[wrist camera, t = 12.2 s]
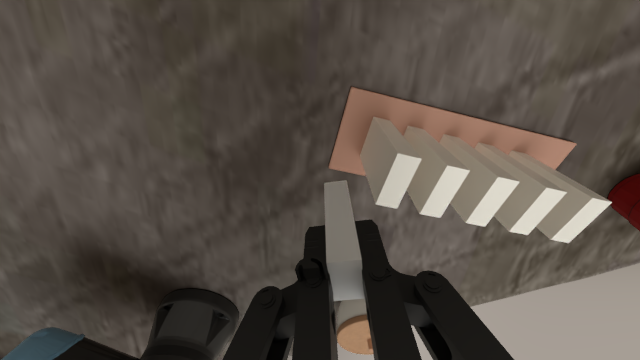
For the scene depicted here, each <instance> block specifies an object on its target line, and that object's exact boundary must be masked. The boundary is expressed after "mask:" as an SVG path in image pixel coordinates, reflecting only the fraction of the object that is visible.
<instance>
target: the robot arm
mask: <svg viewBox="0 0 640 360" xmlns="http://www.w3.org/2000/svg"><path fill="white" fill-rule="evenodd" d="M324 196H325V225H323V226H314V227H309V229H308V230H307V232H306V234H305V246H304V247H305V249H304V259H302V260H300V261H299V263H298V264H297V265H296V268H295V271H296V275H297V278H298V281H297V282H295V283H294V284H292V285H291V286H289V287H286V288H284V289H281V290H279V288H277V287H274V286H268V287H265V288H263V289H261V290H260V291H259V292H257V293H256V295H255V296H254V298H253V299H252V302H251V304H250V306H249V308H248V310H247V312H246V314H245V316H244V318H243V320H242V322H241V324H240V326H239V328H238V330H237V332H236V334H235V336H234V338H233V340H232V342H231V344H230V346H229V348H228V350H227V352H226V354H225V356H224V358H223V360H287V358H288V354H289V351H290V348H291V344H292V341H293V338H294V344H293V355H292V360H338V354H337V337H336V319H335V310H334V301H342V300H353V299H364V298H365V302H366V312H367V320H368V323H369V329H370V335H371V341H372V347H373V353H374V359H375V360H422V359H421V356H420V353H419V350H418V347H417V343H416V340H415V337H414V334H413V331H412V328H411V325H414V327H415V329H416V331H417V332H418V334H419V336H420V337H421V339H422V341H423V342H424V344H425V346H426V348H427V350H428V351H429V353H430V355H431V357H432V358H433V360H514V359H513V358H512V357H511V356H510V354H509V353H508V352H507V351H506V349H505V348H504V347H503V346H502V345H501V344H500V342H499V341H498V340H497V339H496V338H495V336H494V335H493V334H492V333H491V332H490V330H489V329H488V328H487V327H486V326H485V325H484V323H483V322H482V321H481V320H480V319H479V317H478V316H477V315H476V314H475V312H474V311H473V310H472V309H471V308H470V307H469V305H468V304H467V303H466V302H465V301H464V299H463V298H462V297H461V296H460V295H459V293H458V292H457V291H456V290H455V289H454V287H453V286H452V285H451V284H450V283H449V281H448V280H447V279H446V278H445V277H443V276H442V275H441V274H439V273H437V272H433V271H422V272H420V273H419V274H417V276H410V275H405V274H402V273H399V272H397V271H396V270H394V269H393V268H392V267H391V266H390V264H389V262H388V259H387V256H386V253H385V250H384V246H383V243H382V240H381V237H380V234H379V230H378V227H377V225H376V224H375V223H374V222H373V221H372V220H363V221H354V216H353V211H352V206H351V200H350V195H349V190H348V185H347V180H343V181H336V182H328V183H324ZM238 319H239V313H238V310H237V308H236V307H235V306H234V305H233V304H232V303H231V302H230V301H229V300H227V299H226V298H224V297H222V296H220V295H218V294H215V293H212V292H209V291H205V290H199V289H182V290H177V291H174V292H171V293H169V294H168V295H166V296H165V297H164V299H163V300H162V302H161V304H160V305H159V307H158V309H157V311H156V314H155V318H154V322H153V326H152V330H151V334H150V338H149V342H148V345H147V348H146V350H145V351H144V353H143V355H142V357H141V358H140V359H138V358H136V357H133V356H130V355H128V354H125V353H123V352H120V351H118V350H115V349H113V348H110V347H108V346H105V345H103V344H100V343H98V342H95V341H93V340H90V339H88V338H85V335H84V334H81V335H77V334H74V333H71V332H68V331H65V330H62V329H59V328H54V327H50V328H45V329H41V330H39V331H37V332H35V333H33V334H32V335H30V336H29V337H28V338H26V339H25V340H24V341H23V342H22V343H20V344H19V345H18V346H17V347H16V348H15V349H13V350H12V351H11V352H10V353H9V354H7V355H6V356H5V357H4V358H3V359H1V360H217V358H218V357H219V355H220V354H221V352H222V351H223V349H224V347H225V346H226V344H227V343H228V341H229V340H230V338H231V336H232V335H233V333H234V331H235V329H236V326H237V323H238Z"/></svg>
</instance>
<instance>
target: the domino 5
mask: <svg viewBox="0 0 640 360" xmlns="http://www.w3.org/2000/svg"><path fill="white" fill-rule="evenodd" d="M509 156H510V157H512V158H513V159H515V160H517V161H518V162H520V163H521V164H523V165H525V166H526V167H528V168H529V169H531V170H533V171H534V172H536V173H537V174H539V175H541V176H542V177H544V178H545V179H547V180H549V181H550V182H552V183H553V184H555V185H557V186H558V187H560V188H561V189H563V190H565V191H566V192H567V193H566V194H565V195H564V196H563V198H562V199H561V200H560V201H559V202H558V203H557V204H556V205H555V206H554V207H553V208H552V209H551V210H550V212H549V213H548V214H547V215H546V216H545V217H544V218H543V219H542V220H541V221H540V222H539V223H538V224H537V226H536V227H537V228H538V229H539V230H540V231H541V232H543V233H544V234H545V235H546V236H547V237H548V238H549V239H551V240H555V241H560V242H566V243H569V242H570V241H571V240H572V239H574V238H575V237H576V236H577V235H578V234H579V233H580V232H581V231H582V230H583V229H584V228H585V227H586V226H587V225H589V224H590V223H591V222H592V221H593V220H594V219H595V218H596V217H597V216H598V215H599V214H600V213H601V212H603V211H604V210H605V209H606V208H607V207H608V206H609V205H610V204H611V203H612V202H611V201H609V200H607V199H606V198H604V197H602V196H600V195H599V194H597V193H595V192H593V191H591V190H590V189H588V188H586V187H584V186H583V185H581V184H579V183H577V182H575V181H574V180H572V179H570V178H568V177H567V176H565V175H563V174H561V173H559V172H558V171H556V170H554V169H552V168H551V167H549V166H547V165H545V164H544V163H542V162H540V161H538V160H536V159H535V158H533V157H531V156H529V155H528V154H525V153H521V152H517V151H513V150H512V151H511V152H510V153H509Z"/></svg>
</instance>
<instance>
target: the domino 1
mask: <svg viewBox="0 0 640 360" xmlns="http://www.w3.org/2000/svg"><path fill="white" fill-rule="evenodd" d="M360 158H361V161H362V164H363V167H364V170H365V174H366V177H367V180H368V183H369V186H370V189H371V192H372V195H373V198H374V202H375V204H376V205H381V206H386V207H391V208H396V209H397V208H398V206H399V204H400V202H401V200H402V198H403V196H404V194H405V192H406V190H407V188H408V186H409V184H410V182H411V180H412V178H413V176H414V174H415V172H416V170H417V168H418V166H419V164H420V162H421V160H422V158H421V157H420V156H419V155H418V153H417V152H416V151H415V150H414V149H413V147H412V146H411V145H410V144H409V143H408V141H407V140H406V139H405V138H404V137H403V135H402V134H401V133H400V132H399V131H398V129H397V128H396V127H395V126H394V125H393V123H392V122H391V121H390V120H386V119H382V118H377V117H373V119H372V122H371V125H370V128H369V131H368V134H367V137H366V139H365V142H364V145H363V148H362V151H361V154H360Z"/></svg>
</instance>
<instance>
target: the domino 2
mask: <svg viewBox="0 0 640 360" xmlns="http://www.w3.org/2000/svg"><path fill="white" fill-rule="evenodd" d="M403 137H404V138H405V139H406V140H407V141H408V143H409V144H410V145H411V146H412V147H413V149H414V150H415V151H416V152H417V153H418V155H419V156H420V157H421V158H422V160H421V162H420V164H419V166H418V168H417V170H416V172H415V174H414V176H413V178H412V180H411V182H410V184H409V186H408V188H407V192H408V194H409V196H410V198H411V199H412V201H413V203H414V205H415V207H416V208H417V210H418V212H419V214H423V215H428V216H433V217H438V218H440V217H441V216H442V214H443V213H444V211H445V210H446V208H447V206H448V205H449V203H450V202H451V200H452V199H453V197H454V195H455V194H456V192H457V191H458V189H459V188H460V186H461V184H462V183H463V181H464V180H465V178H466V177H467V175H468V173H469V172H470V170H469V169H468V168H467V167H466V166H465V165H463V164H462V163H461V162H460V161H459V160H458V159H457V158H456V157H454V156H453V155H452V154H451V153H450V152H449V151H448V150H447V149H445V148H444V147H443V146H442V145H441V144H440V143H439V142H438V141H436V140H435V139H434V138H433V137H432V136H431V135H430V134H429V133H427V132H426V131H425V130H424V129H420V128H416V127H412V126H407V129H406V131H405V133H404V136H403Z"/></svg>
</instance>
